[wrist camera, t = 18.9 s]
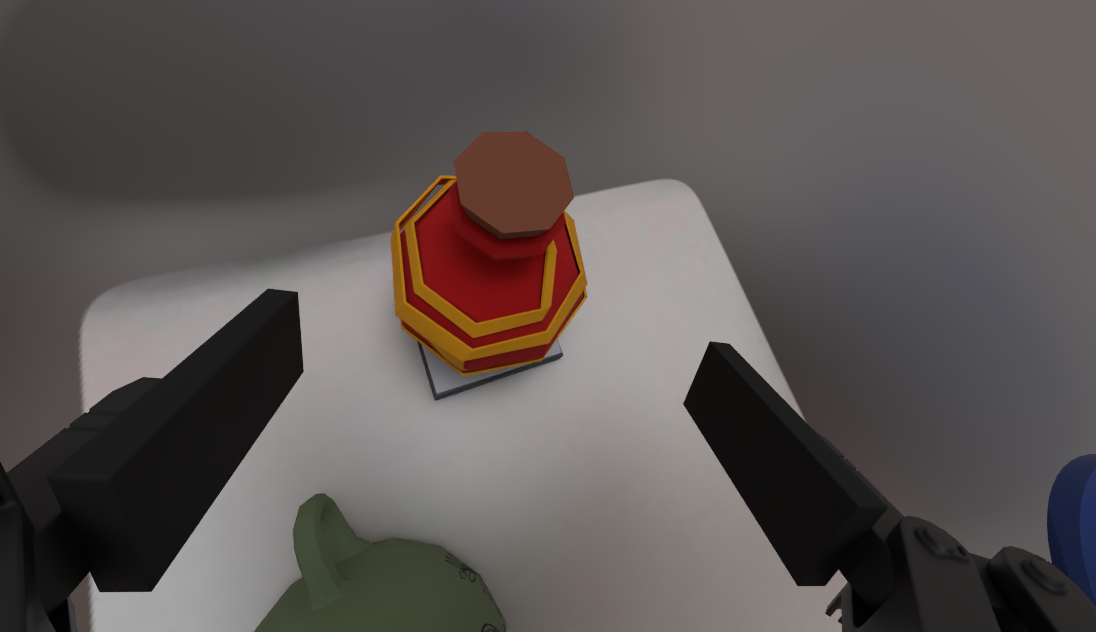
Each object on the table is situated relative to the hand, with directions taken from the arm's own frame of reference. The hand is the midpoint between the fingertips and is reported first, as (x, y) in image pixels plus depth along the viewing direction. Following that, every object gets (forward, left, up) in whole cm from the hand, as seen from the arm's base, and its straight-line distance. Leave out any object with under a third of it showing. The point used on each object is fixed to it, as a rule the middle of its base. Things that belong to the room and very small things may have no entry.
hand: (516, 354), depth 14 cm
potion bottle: (+1, -6, -14) cm, 15 cm away
